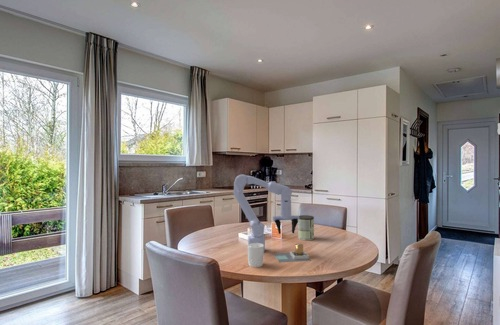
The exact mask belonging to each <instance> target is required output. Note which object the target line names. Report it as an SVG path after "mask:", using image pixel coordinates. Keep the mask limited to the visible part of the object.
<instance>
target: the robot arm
mask: <svg viewBox="0 0 500 325" xmlns="http://www.w3.org/2000/svg"><path fill="white" fill-rule="evenodd" d="M246 185H255V186H260V187H262V188H265V189H266V190H267V191H268V192H270V193H273V194H275V195H280V215H275V216H272V221H273V222H274V223H275V225H276V227H277V231H278V232H277V233H278V234H279V235H280V234H281V221H291V233H292V234H295V231H296V227H297V226H298V220H299V216H300V215H292V197H291V196H292V190H291V188H290V187H289V186H287V185H285V184H280V183H278V182H276V181H274V180H273V181H269V182H267V181H264V180H262V179H260V178H258V177H255V176H252V175H246V174H243V173H241V174H239V175H237V176H236V177H235V179H234V182H233V196H234V198H235V199H236V201H237V203H238V204H239V206H240V208H241V210H242V212H243V214H244V215H245V216H246V219H247V221H248V223H249V225H250V227H251V231H252V233H251V235H248V236H247V245H248V244H251V243H260V244H263V245H264V252H265V251H266V236H265V235H266V234H265V225H264V224H263V222H261V221H260V220H259V218H258V217H257V215H256V214H255V211H254V210H253V208H252V206H251V205H250V203H249V201H248V200H247V197H246V196H245V194H244V189H245V187H246Z"/></svg>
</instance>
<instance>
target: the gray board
mask: <svg viewBox="0 0 500 325" xmlns="http://www.w3.org/2000/svg"><path fill="white" fill-rule="evenodd" d="M273 255H274V257H275V259H276V260H278V263H293V262H308V261H309V262H310V261H312V260H311V258H310V255H309V254H308V253H307V252H306V251H305V250H303V256H295V251H289V252H281V253H280V252H278V253H277V252H276V253H273Z"/></svg>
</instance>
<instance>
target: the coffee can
mask: <svg viewBox="0 0 500 325" xmlns="http://www.w3.org/2000/svg"><path fill="white" fill-rule="evenodd" d="M298 216H299V220H298V223H297V239H298V240H301V241H313V240H314V239H315V222H314V220H315V216H313V215H309V214H308V215H305V214H304V215H298Z"/></svg>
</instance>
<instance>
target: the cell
mask: <svg viewBox="0 0 500 325" xmlns="http://www.w3.org/2000/svg"><path fill="white" fill-rule="evenodd" d="M294 247H295V248H294V250H295V251H294V252H295V256H303V251H304V244H302V243H296V244H295V246H294Z"/></svg>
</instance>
